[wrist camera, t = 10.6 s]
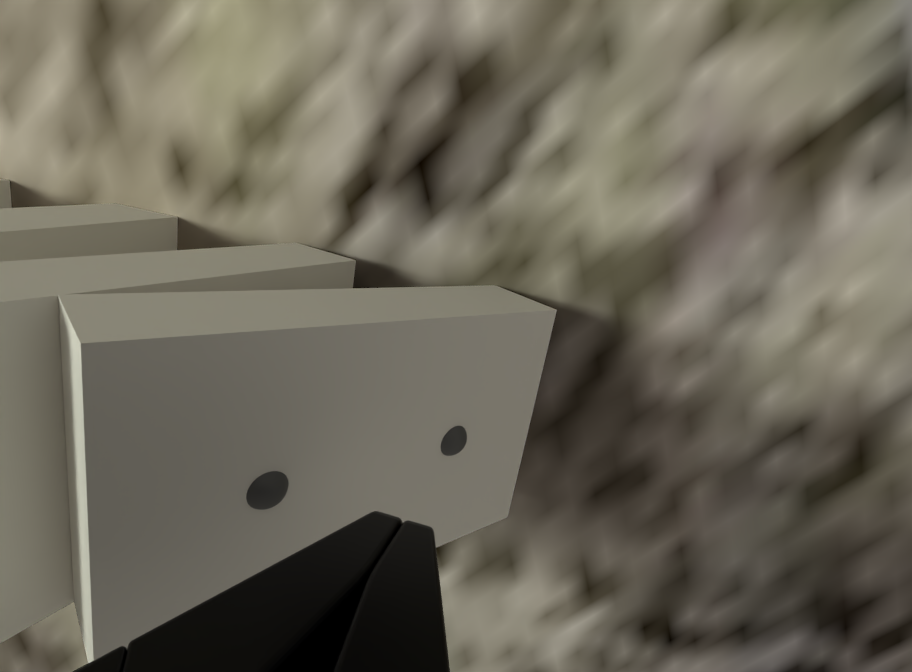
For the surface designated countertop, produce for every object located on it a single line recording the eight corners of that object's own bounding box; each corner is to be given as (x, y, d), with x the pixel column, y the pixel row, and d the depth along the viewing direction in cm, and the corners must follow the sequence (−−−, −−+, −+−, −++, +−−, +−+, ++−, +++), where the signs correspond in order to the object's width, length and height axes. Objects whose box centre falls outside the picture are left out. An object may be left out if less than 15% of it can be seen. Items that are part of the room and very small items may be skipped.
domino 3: (514, 522, 12) (97, 704, 7) (457, 476, 14) (74, 601, 9) (564, 312, 11) (83, 350, 6) (495, 285, 12) (58, 294, 7)
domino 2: (339, 457, 14) (-79, 700, 7) (281, 428, 15) (-144, 621, 8) (363, 262, 12) (-142, 324, 5) (296, 242, 13) (-216, 275, 6)
